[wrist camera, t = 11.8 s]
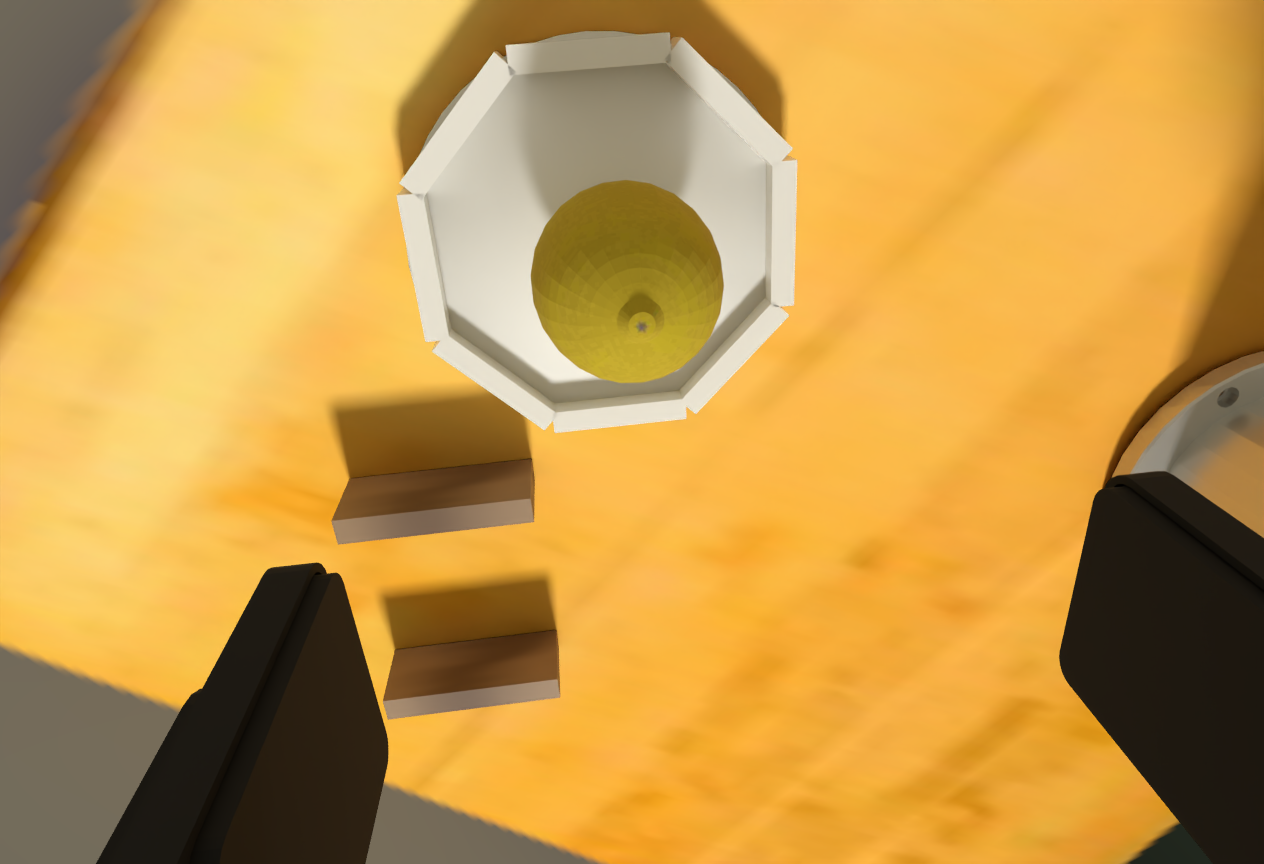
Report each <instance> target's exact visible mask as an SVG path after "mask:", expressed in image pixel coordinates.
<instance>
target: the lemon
mask: <svg viewBox="0 0 1264 864" xmlns="http://www.w3.org/2000/svg"><path fill="white" fill-rule="evenodd" d="M531 285H532V295H533V303H534V306H535V308H536V311H537V314H538V317H539V319H540V322H541V325H542V327H543V329H544V331H545V332H546V334H547V335H548V336H549V338H550V339H551V341H552V342H553V344H554V345H555V346H556V348H557V349H558V351H559V352H560V353H562V354H563V355H564V356H565V357H566V358H567V359H569V360H570V361H571V362H572V363H573V364H575V365H576V366H577V367H578V368H580V369H582V370H584V371H586V372H588V373H590V374H592V375H594V376H596V377H598V378H600V379H605V380H609V381H614V382H618V383H643V382H647V381H651V380H655V379H659V378H663V377H665V376H667V375H668V374H670V373H672V372H674V371H676V370H678V369H680V368H682V367H683V366H684V365H685V364H686V363H687V362H689V361H690V360H691V359H692V358H693V357H694V356H696V355H697V354H698V353H699V351H700V350H701V349H702V347H703V346H704V344H705V343H706V342H707V340H708V339H709V338H710V336H711V334H712V332H713V329H714V327H715V325H716V322H717V320H718V317H719V315H720V311H721V304H722V297H723V290H724V282H723V273H722V264H721V258H720V255H719V252H718V249H717V247H716V244H715V242H714V239H713V236H712V234H711V232H710V230H709V229H708V227H707V226H706V225H705V223H704V222H703V221H702V219H701V218H700V217H699V215H698V214H697V213H696V211H695V210H694V209H693V208H691V207H690V206H689V205H688V204H686V203H685V202H684V201H683V200H681V199H680V198H679V197H678V196H676V195H675V194H674V193H671V192H669V191H667V190H664V189H662V188H660V187H657V186H655V185H653V184H650V183H645V182H638V181H631V180H621V181H613V182H605V183H601V184H598V185H596V186H593V187H591V188H588V189H585V190H583V191H580V192H579V193H577V194H576V195H575V196H573V197H572V198H571V199H569V200H568V201H567V202H565V203H564V204H563V205H561V206H560V207H559V209H558V210H557V211H556V212H555V214H554V215H553V216H552V217H551V219H550V220H549V221H548V222H547V224H546V225H545V227H544V229H543V232H542V234H541V236H540V238H539V241H538V243H537V245H536V247H535V251H534V257H533V263H532V269H531Z"/></svg>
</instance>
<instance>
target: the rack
mask: <svg viewBox="0 0 1264 864" xmlns="http://www.w3.org/2000/svg"><path fill="white" fill-rule="evenodd" d="M534 489H535V480H534V473H533V466H532V459H525V460H516V461H506V462H497V463H488V464H479V465H470V466H461V467H452V468H443V469H433V470H424V471H415V472H406V473H397V474H388V475H379V476H370V477H360V478H351V479H349V481H348V484H347V486H346V488H345V491H344V493H343V495H342V498H341V500H340V502H339V505H338V507H337V509H336V512H335V514H334V516H333V519H332V525H333V528H334V532H335V535H336V539H337V542H338V544H347V543H355V542H364V541H373V540H382V539H390V538H399V537H408V536H417V535H425V534H434V533H443V532H451V531H460V530H469V529H478V528H486V527H495V526H504V525H513V524H521V523H530V522H534ZM552 698H560V676H559V646H558V639H557V633H556V630H552V631H544V632H536V633H528V634H520V635H512V636H503V637H495V638H487V639H479V640H471V641H463V642H454V643H446V644H438V645H430V646H422V647H414V648H406V649H397V650H395V652H394V657H393V661H392V665H391V669H390V673H389V678H388V682H387V686H386V690H385V695H384V699H383V703H384V707H385V710H386V714H387V717H388V719H395V718H403V717H411V716H419V715H427V714H434V713H442V712H450V711H458V710H466V709H474V708H481V707H489V706H497V705H505V704H513V703H520V702H528V701H536V700H544V699H552Z"/></svg>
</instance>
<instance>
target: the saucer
mask: <svg viewBox="0 0 1264 864" xmlns="http://www.w3.org/2000/svg"><path fill="white" fill-rule="evenodd" d="M506 53H507V55H506V56H504V57H503V56H502V55H501V54H500V53H499V52H498V51H495V52H494V53H493V54H492V55H491V57H490V58H489V59H488V61H487V62H486V64H485V65H484V66H483V68H482V69H481V71H480V72H479V73H478V75H477V76H476V77H475V78H474V79H473V80H472V81H471V82H470V83H469V84H467V85H466V86H465V87H464V88H463V89H462V90H461V91H460V92H459V93H458V94H457V96H456V97H455V98H454V99H453V100H452V102H451V103H450V104H449V105H448V106H447V108H446V109H445V110H444V111H443V112H442V114H441V116H440V117H439V119H438V120H437V122H436V124H435V125H434V127H433V129H432V130H431V132H430V133H429V135H428V137H427V139H426V141H425V144H424V146H423V148H422V151H421V153H420V155H419V156H418V158H417V159H416V161H415V162H414V163H413V165H412V166H411V167H410V169H409V170H408V172H407V173H406V174H405V176H404V177H403V179H402V180H401V181H400V184H401V185H402V186H403V187H404V188H403V189H402V190H401V191H400V192H399V193H398V194H397V200H398V205H399V210H400V215H401V221H402V226H403V231H404V236H405V241H406V246H407V254H408V262H409V268H410V271H411V275H412V279H413V283H414V286H415V291H416V296H417V301H418V306H419V311H420V317H421V322H422V327H423V332H424V337H425V342H431V341H435V344H434V347H433V350H432V352H433V353H435V354H436V355H438V356H439V357H441V358H442V359H443V360H445V361H446V362H448V363H449V364H451V365H452V366H453V367H455V368H456V369H458V370H459V371H461V372H462V373H463V374H465V375H466V376H468V377H469V378H470V379H472V380H473V381H475V382H476V383H478V384H479V385H480V386H482V387H483V388H485V389H486V390H488V391H489V392H490V393H492V394H493V395H495V396H496V397H498V398H499V399H500V400H502V401H503V402H505V403H506V404H508V405H509V406H510V407H512V408H513V409H515V410H516V411H518V412H519V413H520V414H522V415H523V416H525V417H526V418H528V419H529V420H530V421H532V422H533V423H535V424H536V425H538V426H539V427H540V428H542V429H543V430H545V429H546V428H547V427H548V426H549V425H550V423H551V422H552V421H553V423H554V431H555V433H559V432H568V431H578V430H587V429H596V428H605V427H615V426H624V425H633V424H642V423H652V422H661V421H670V420H680V419H686V407H688V408H689V409H690V410H691V411H693V412H694V413H695V414H696V413H697V412H698V411H699V410H700V409H701V408H702V407H703V406H704V405H705V404H706V403H707V402H708V401H709V400H710V399H711V398H712V397H713V395H714V394H715V393H716V392H717V391H718V390H719V389H720V388H721V387H722V386H723V385H724V384H725V383H726V382H727V381H728V380H729V379H730V378H731V377H732V375H733V374H734V373H735V372H736V371H737V370H738V369H739V368H740V367H741V366H742V365H743V364H744V363H745V362H746V361H747V360H748V359H749V358H750V356H751V355H752V354H753V353H754V352H755V351H756V350H757V349H758V348H759V347H760V346H761V345H762V344H763V343H764V342H765V341H766V340H767V339H768V338H769V336H770V335H771V334H772V333H773V332H774V331H775V330H776V329H777V328H778V327H779V326H780V325H781V324H782V323H783V322H784V321H785V320H786V319H787V317H788V316H789V315H788V313H787V312H786V311H785V310H784V309H783V308H782V307H781V306H791V305H794V277H795V235H796V192H797V160H796V159H794V158H792V157H790V156H788V154H789V152H790V151H791V150H792V149H793V148H792V147H791V146H790V145H789V144H788V143H787V142H786V141H785V140H784V139H783V138H782V137H781V136H780V135H779V134H778V133H777V132H776V131H775V130H774V129H773V128H772V127H771V126H770V125H769V124H768V123H767V122H766V121H765V120H764V119H763V118H762V117H761V115H760V114H759V112H758V111H757V109H756V108H755V107H754V105H753V104H752V103H751V102H750V101H749V100H748V99H747V97H746V96H745V95H744V94H743V93H742V92H741V90H740V89H739V88H738V87H737V86H736V85H734V84H733V83H732V82H731V81H730V80H729V79H728V78H727V77H725V76H724V75H723V74H722V73H721V72H720V71H719V70H717V69H716V68H714V67H713V66H711V65H710V64H708V63H707V62H706V61H705V60H704V59H703V58H702V57H701V56H700V55H699V54H698V53H697V52H696V51H695V50H694V49H693V48H692V47H691V46H690V45H689V44H688V43H687V42H686V41H685V40H684V39H683V38H682V37H673V38H672V39H671V40H670V32H664V33H650V34H631V33H624V32H617V31H584V32H577V33H570V34H564V35H557V36H554V37H551V38H548V39H544V40H541V41H538V42H535V43H522V44H509V45H506ZM621 180H631V181H638V182H645V183H650V184H653V185H655V186H657V187H660V188H662V189H664V190H667V191H669V192H671V193H674V194H675V195H676V196H678V197H679V198H680V199H681V200H683V201H684V202H685V203H686V204H688V205H689V206H690V207H691V208H693V209H694V210H695V211H696V213H697V214H698V215H699V217H700V218H701V219H702V221H703V222H704V223H705V225H706V226H707V227H708V229H709V230H710V232H711V234H712V236H713V239H714V242H715V244H716V247H717V249H718V252H719V255H720V258H721V264H722V273H723V282H724V290H723V297H722V304H721V311H720V315H719V317H718V320H717V322H716V325H715V327H714V329H713V332H712V334H711V336H710V338H709V339H708V340H707V342H706V343H705V344H704V346H703V347H702V349H701V350H700V351H699V353H698V354H697V355H696V356H694V357H693V358H692V359H691V360H690V361H689V362H687V363H686V364H685V365H684V366H683V367H682V368H680V369H678V370H676V371H674V372H672V373H670V374H668V375H667V376H665V377H663V378H659V379H655V380H651V381H647V382H643V383H618V382H614V381H609V380H605V379H600V378H598V377H596V376H594V375H592V374H590V373H588V372H586V371H584V370H582V369H580V368H578V367H577V366H576V365H575V364H573V363H572V362H571V361H570V360H569V359H567V358H566V357H565V356H564V355H563V354H562V353H560V352H559V351H558V349H557V348H556V346H555V345H554V344H553V342H552V341H551V339H550V338H549V336H548V335H547V334H546V332H545V331H544V329H543V327H542V325H541V322H540V319H539V317H538V314H537V311H536V308H535V306H534V303H533V295H532V285H531V269H532V263H533V257H534V251H535V247H536V245H537V243H538V241H539V238H540V236H541V234H542V232H543V229H544V227H545V225H546V224H547V222H548V221H549V220H550V219H551V217H552V216H553V215H554V214H555V212H556V211H557V210H558V209H559V207H560V206H561V205H563V204H564V203H565V202H567V201H568V200H569V199H571V198H572V197H573V196H575V195H576V194H577V193H579V192H580V191H583V190H585V189H588V188H591V187H593V186H596V185H598V184H601V183H605V182H613V181H621Z"/></svg>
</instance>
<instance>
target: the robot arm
mask: <svg viewBox="0 0 1264 864" xmlns="http://www.w3.org/2000/svg"><path fill="white" fill-rule="evenodd" d="M1059 659H1060V666H1061V670H1062V673H1063V675H1064V677H1065V679H1066V681H1067V682H1068V684H1069V685H1070V686H1071V688H1072V689H1073V690H1074V691H1075V693H1076V694H1077V695H1078V696H1079V698H1080V699H1081V700H1082V701H1083V702H1084V704H1085V705H1086V706H1087V707H1088V709H1089V710H1090V711H1091V712H1092V714H1093V715H1094V716H1095V717H1096V719H1097V720H1098V721H1099V722H1100V724H1101V725H1102V726H1103V727H1104V729H1105V730H1106V731H1107V732H1108V734H1109V735H1110V736H1111V737H1112V739H1113V740H1114V741H1115V742H1116V744H1117V745H1118V746H1119V747H1120V749H1121V750H1122V751H1123V752H1124V753H1125V755H1126V756H1127V757H1128V758H1129V760H1130V761H1131V762H1132V763H1133V765H1134V766H1135V767H1136V768H1137V770H1138V771H1139V772H1140V773H1141V775H1142V776H1143V777H1144V778H1145V780H1146V781H1147V782H1148V783H1149V785H1150V786H1151V787H1152V788H1153V790H1154V791H1155V792H1156V793H1157V795H1158V796H1159V797H1160V798H1161V800H1162V801H1163V802H1164V803H1165V805H1166V806H1167V807H1168V808H1169V809H1170V811H1171V812H1172V813H1173V814H1174V816H1175V817H1176V818H1177V819H1178V821H1179V822H1180V823H1181V824H1182V826H1183V827H1184V828H1185V829H1186V830H1187V832H1188V833H1189V834H1190V836H1191V837H1192V838H1193V839H1194V840H1195V842H1196V843H1197V844H1198V846H1199V847H1200V848H1201V849H1202V851H1203V852H1204V853H1205V854H1206V856H1207V857H1208V858H1209V859H1210V860H1211V862H1212V863H1213V864H1264V351H1261V352H1258V353H1254V354H1251V355H1247V356H1244V357H1241V358H1239V359H1237V360H1234V361H1232V362H1230V363H1228V364H1225V365H1223V366H1221V367H1219V368H1217V369H1214V370H1212V371H1211V372H1209V373H1208V374H1206V375H1204V376H1203V377H1201V378H1200V379H1198V380H1196V381H1195V382H1193V383H1192V384H1190V385H1188V386H1187V387H1185V388H1184V389H1183V390H1182V391H1181V392H1179V393H1178V394H1177V395H1176V396H1174V397H1173V398H1172V399H1171V400H1170V401H1168V402H1167V403H1166V404H1165V405H1164V406H1162V407H1161V408H1160V409H1159V410H1158V411H1157V412H1156V413H1155V414H1154V416H1153V417H1152V418H1151V419H1150V420H1149V421H1148V422H1147V423H1146V424H1145V425H1144V426H1143V427H1142V428H1141V430H1140V431H1139V432H1138V433H1137V435H1136V436H1135V438H1134V439H1133V441H1132V442H1131V444H1130V445H1129V446H1128V448H1127V449H1126V451H1125V452H1124V454H1123V455H1122V457H1121V459H1120V461H1119V463H1118V465H1117V467H1116V469H1115V471H1114V473H1113V476H1112V478H1111V479H1110V480H1109V481H1108V483H1107V484H1106V486H1105V488H1104V489H1101V490H1099V491H1098V492H1097V494H1096V495H1095V498H1094V500H1093V505H1092V509H1091V514H1090V518H1089V523H1088V527H1087V532H1086V536H1085V541H1084V545H1083V549H1082V554H1081V558H1080V563H1079V567H1078V572H1077V576H1076V581H1075V585H1074V590H1073V594H1072V599H1071V603H1070V608H1069V612H1068V617H1067V621H1066V626H1065V630H1064V635H1063V639H1062V644H1061V648H1060V655H1059ZM387 764H388V738H387V733H386V730H385V726H384V723H383V719H382V716H381V712H380V709H379V705H378V702H377V698H376V695H375V691H374V688H373V684H372V681H371V677H370V674H369V670H368V667H367V663H366V660H365V656H364V653H363V649H362V646H361V642H360V639H359V635H358V632H357V628H356V625H355V621H354V618H353V614H352V611H351V607H350V604H349V600H348V597H347V593H346V590H345V586H344V583H343V580H342V578H341V576H340V575H339V574H338V573H330V574H327V573H326V570H325V568H324V567H323V566H322V564H320V563H309V564H300V565H291V566H282V567H273V568H270V569H268V570H267V571H266V572H265V573H264V575H263V577H262V578H261V580H260V582H259V584H258V586H257V588H256V590H255V591H254V593H253V595H252V597H251V599H250V601H249V603H248V605H247V606H246V608H245V610H244V612H243V614H242V616H241V618H240V619H239V621H238V623H237V625H236V627H235V629H234V631H233V632H232V634H231V636H230V638H229V640H228V642H227V644H226V645H225V647H224V649H223V651H222V653H221V655H220V657H219V659H218V660H217V662H216V664H215V666H214V668H213V670H212V672H211V673H210V675H209V677H208V679H207V681H206V683H205V685H204V686H203V688H202V689H199V690H198V691H196V692H195V693H193V694H191V696H190V697H189V699H188V700H187V701H186V703H185V704H184V705H183V707H182V709H181V711H180V712H179V714H178V716H177V718H176V720H175V721H174V723H173V725H172V727H171V729H170V731H169V732H168V734H167V736H166V738H165V740H164V741H163V743H162V745H161V747H160V749H159V750H158V752H157V754H156V756H155V758H154V760H153V761H152V763H151V765H150V767H149V769H148V770H147V772H146V774H145V776H144V778H143V780H142V781H141V783H140V785H139V787H138V789H137V791H136V792H135V794H134V796H133V798H132V800H131V801H130V803H129V805H128V807H127V808H126V810H125V812H124V814H123V816H122V818H121V819H120V821H119V823H118V825H117V827H116V829H115V830H114V832H113V834H112V836H111V837H110V839H109V841H108V843H107V845H106V847H105V848H104V850H103V852H102V854H101V856H100V858H99V860H98V861H97V863H96V864H365V862H366V858H367V853H368V849H369V845H370V840H371V836H372V831H373V827H374V823H375V818H376V813H377V809H378V805H379V800H380V796H381V792H382V787H383V783H384V778H385V774H386V769H387Z"/></svg>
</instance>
